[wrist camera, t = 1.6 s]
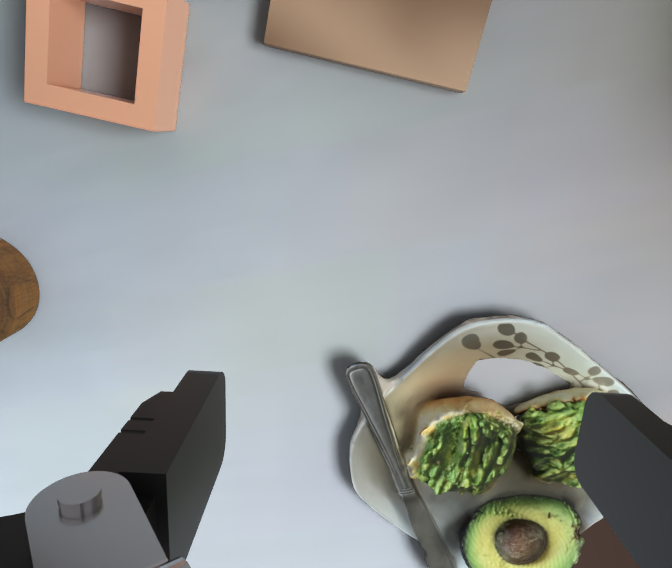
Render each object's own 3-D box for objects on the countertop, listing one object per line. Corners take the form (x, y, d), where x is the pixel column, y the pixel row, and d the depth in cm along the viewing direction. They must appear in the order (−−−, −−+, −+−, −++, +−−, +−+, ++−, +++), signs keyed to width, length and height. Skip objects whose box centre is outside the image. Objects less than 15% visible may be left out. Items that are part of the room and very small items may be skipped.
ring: (66, -26, 23) (27, -47, 21) (189, 4, 24) (168, -12, 21) (60, 104, 25) (24, 101, 22) (175, 130, 26) (153, 131, 23)
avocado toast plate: (266, 436, 32) (253, 487, 27) (466, 235, 27) (489, 257, 23) (473, 590, 35) (491, 656, 31) (679, 435, 31) (734, 486, 27)
